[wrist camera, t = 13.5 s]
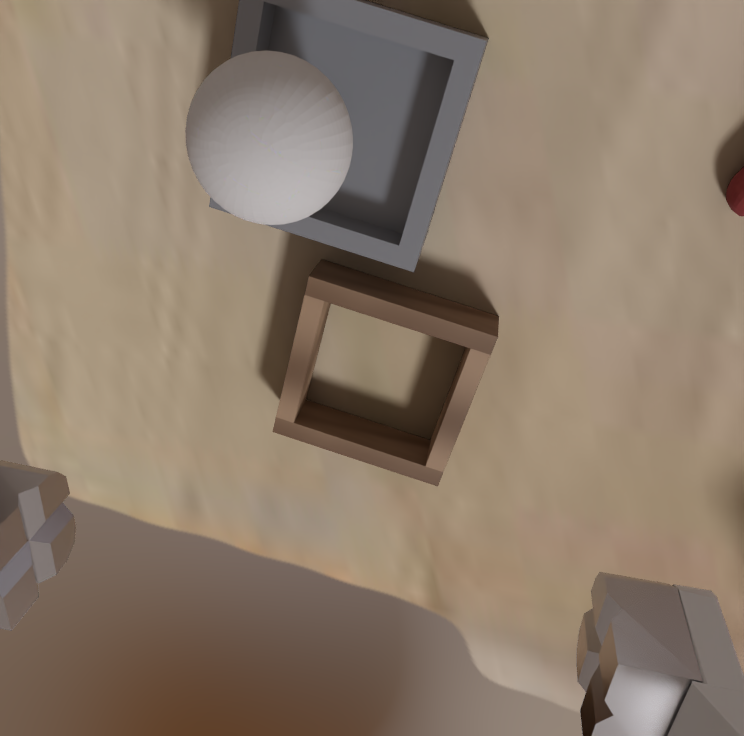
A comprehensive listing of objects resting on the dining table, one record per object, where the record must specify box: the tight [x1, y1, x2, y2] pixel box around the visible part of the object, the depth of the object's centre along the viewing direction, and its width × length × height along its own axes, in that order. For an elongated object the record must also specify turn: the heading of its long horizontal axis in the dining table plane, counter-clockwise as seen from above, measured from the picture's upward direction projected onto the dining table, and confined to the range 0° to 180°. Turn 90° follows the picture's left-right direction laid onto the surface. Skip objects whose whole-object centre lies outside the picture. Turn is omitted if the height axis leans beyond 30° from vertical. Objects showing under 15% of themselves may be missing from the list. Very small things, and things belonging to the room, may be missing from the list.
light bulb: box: [186, 50, 353, 225], centre depth 27 cm, size 6×6×10 cm
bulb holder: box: [273, 260, 499, 486], centre depth 36 cm, size 9×9×2 cm
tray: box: [209, 0, 489, 272], centre depth 31 cm, size 10×10×2 cm
